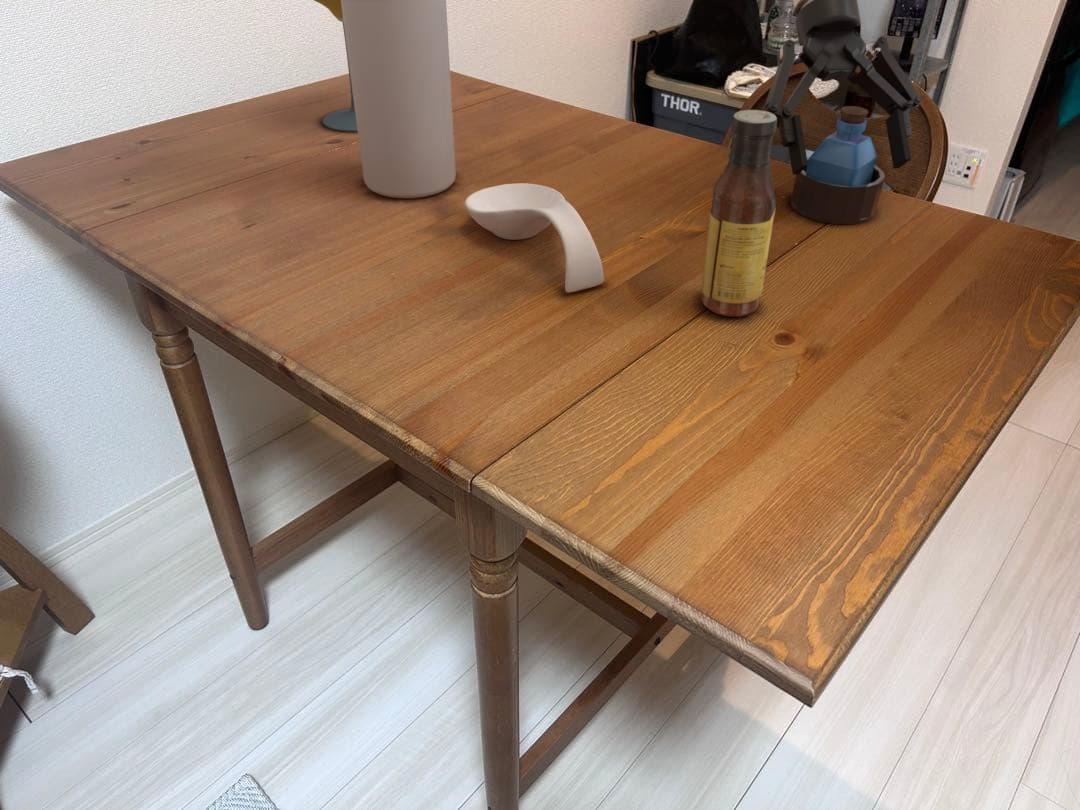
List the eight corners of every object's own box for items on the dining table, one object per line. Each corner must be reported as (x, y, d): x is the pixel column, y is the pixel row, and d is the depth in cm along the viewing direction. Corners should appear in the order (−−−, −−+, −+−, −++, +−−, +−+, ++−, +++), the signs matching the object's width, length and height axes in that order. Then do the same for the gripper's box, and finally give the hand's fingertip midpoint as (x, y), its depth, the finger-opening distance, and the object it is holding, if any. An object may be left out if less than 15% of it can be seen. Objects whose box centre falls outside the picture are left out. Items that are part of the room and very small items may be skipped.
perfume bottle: (844, 217, 103) (868, 122, 96) (799, 203, 106) (819, 110, 99) (864, 202, 107) (889, 109, 99) (820, 189, 110) (841, 99, 102)
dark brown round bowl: (872, 196, 110) (882, 159, 106) (876, 229, 101) (887, 191, 98) (791, 187, 112) (798, 151, 109) (789, 218, 104) (797, 181, 101)
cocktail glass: (377, 96, 142) (358, -69, 126) (434, 123, 131) (422, -53, 115) (280, 117, 132) (248, -58, 117) (333, 148, 122) (306, -40, 106)
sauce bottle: (770, 309, 86) (811, 120, 74) (728, 326, 83) (762, 133, 71) (726, 283, 90) (757, 101, 78) (684, 299, 87) (710, 112, 75)
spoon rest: (451, 219, 103) (447, 164, 98) (533, 201, 107) (533, 148, 103) (541, 304, 86) (541, 243, 82) (633, 279, 91) (638, 219, 86)
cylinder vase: (418, 158, 119) (401, -34, 104) (474, 182, 112) (466, -19, 97) (346, 181, 112) (317, -21, 96) (402, 209, 105) (380, -4, 90)
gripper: (899, 22, 109) (926, 173, 106) (721, 28, 105) (745, 184, 103) (933, -13, 101) (962, 148, 99) (743, -8, 98) (768, 159, 95)
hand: (851, 167), depth 101 cm, fingers open, 13 cm apart
